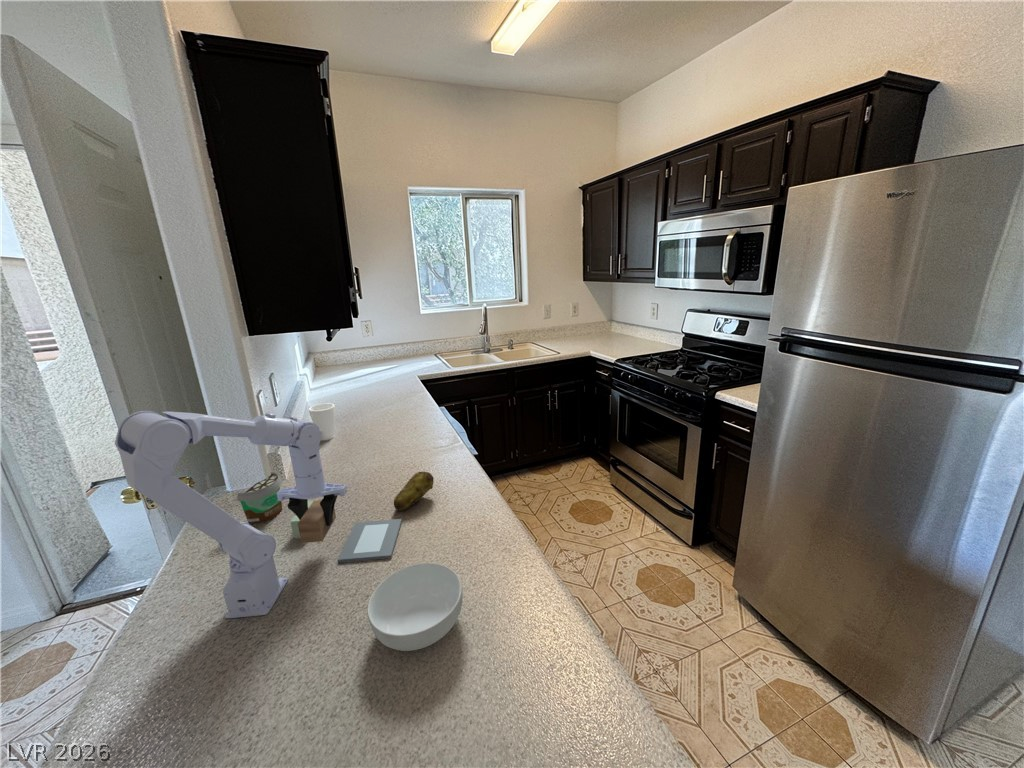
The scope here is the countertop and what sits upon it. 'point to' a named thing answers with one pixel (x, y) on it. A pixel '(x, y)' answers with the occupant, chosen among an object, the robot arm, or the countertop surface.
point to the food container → (262, 500)
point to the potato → (413, 490)
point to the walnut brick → (314, 524)
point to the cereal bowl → (415, 606)
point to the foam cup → (324, 419)
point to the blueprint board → (371, 540)
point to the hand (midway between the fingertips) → (318, 524)
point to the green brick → (295, 523)
